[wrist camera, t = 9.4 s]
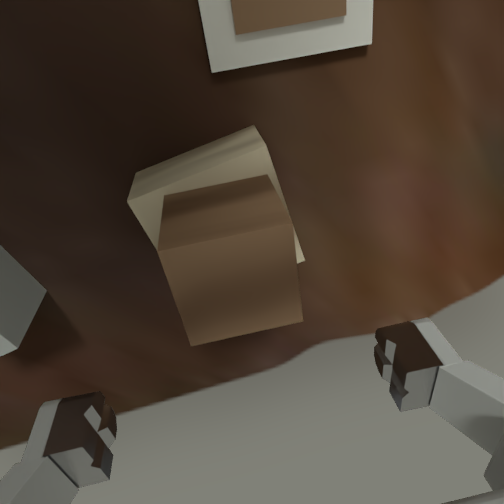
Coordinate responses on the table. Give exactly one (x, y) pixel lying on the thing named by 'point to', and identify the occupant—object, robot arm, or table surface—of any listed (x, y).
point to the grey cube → (16, 301)
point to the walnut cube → (230, 259)
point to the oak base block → (202, 176)
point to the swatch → (281, 29)
